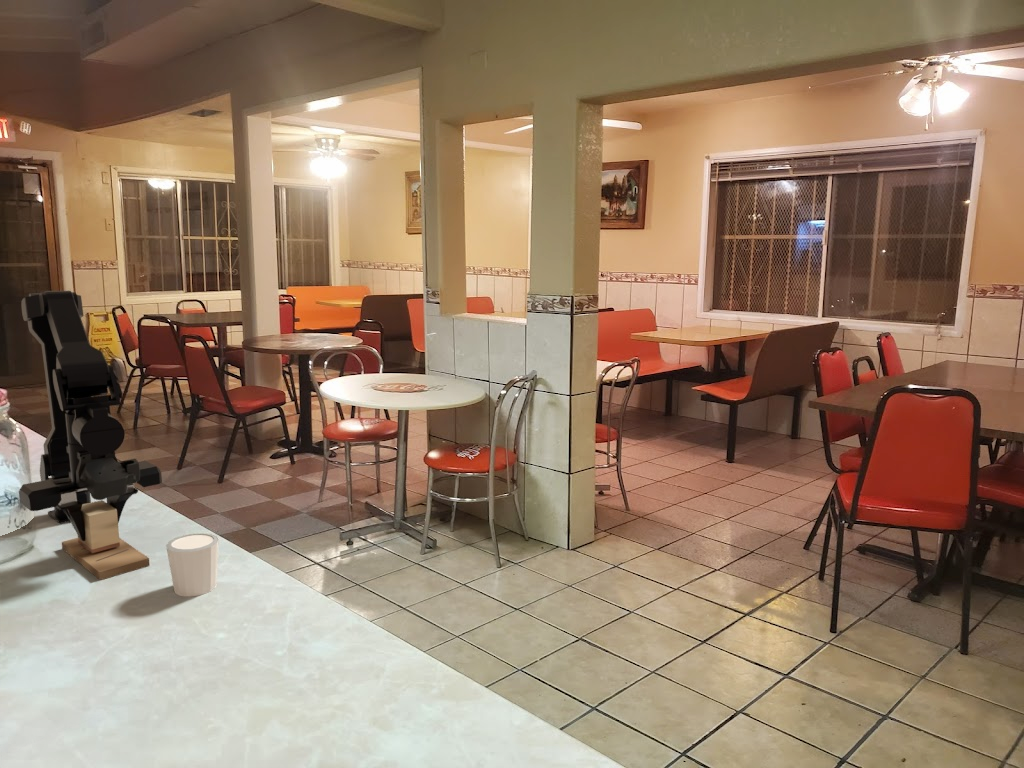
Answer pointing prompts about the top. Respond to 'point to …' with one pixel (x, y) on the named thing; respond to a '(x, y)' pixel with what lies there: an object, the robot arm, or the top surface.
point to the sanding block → (99, 526)
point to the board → (107, 558)
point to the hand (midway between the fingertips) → (98, 536)
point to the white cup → (193, 563)
